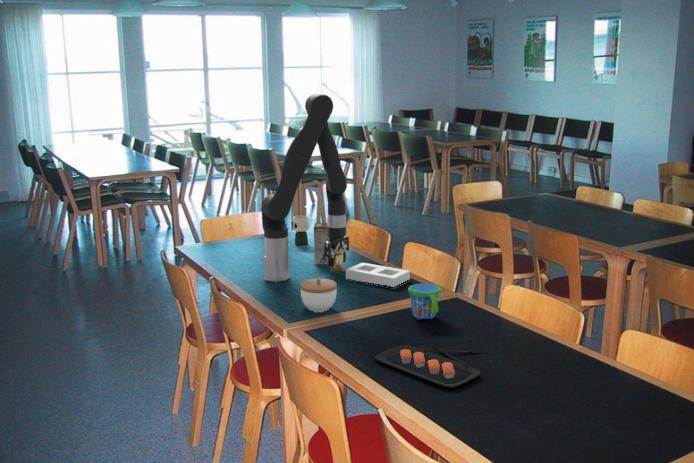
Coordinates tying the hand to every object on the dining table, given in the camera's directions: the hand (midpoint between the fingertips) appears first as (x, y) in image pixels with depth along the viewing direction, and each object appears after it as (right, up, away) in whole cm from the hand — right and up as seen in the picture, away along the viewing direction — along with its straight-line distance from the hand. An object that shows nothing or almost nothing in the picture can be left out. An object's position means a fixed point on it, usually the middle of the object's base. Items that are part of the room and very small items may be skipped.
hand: (337, 264), depth 294 cm
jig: (+16, -6, -11) cm, 20 cm away
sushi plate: (+32, -24, -87) cm, 96 cm away
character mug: (-17, +7, +45) cm, 49 cm away
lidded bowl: (-6, -14, -44) cm, 46 cm away
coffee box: (-7, 0, +16) cm, 17 cm away
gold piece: (0, -3, +1) cm, 3 cm away
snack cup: (+30, -15, -52) cm, 62 cm away
